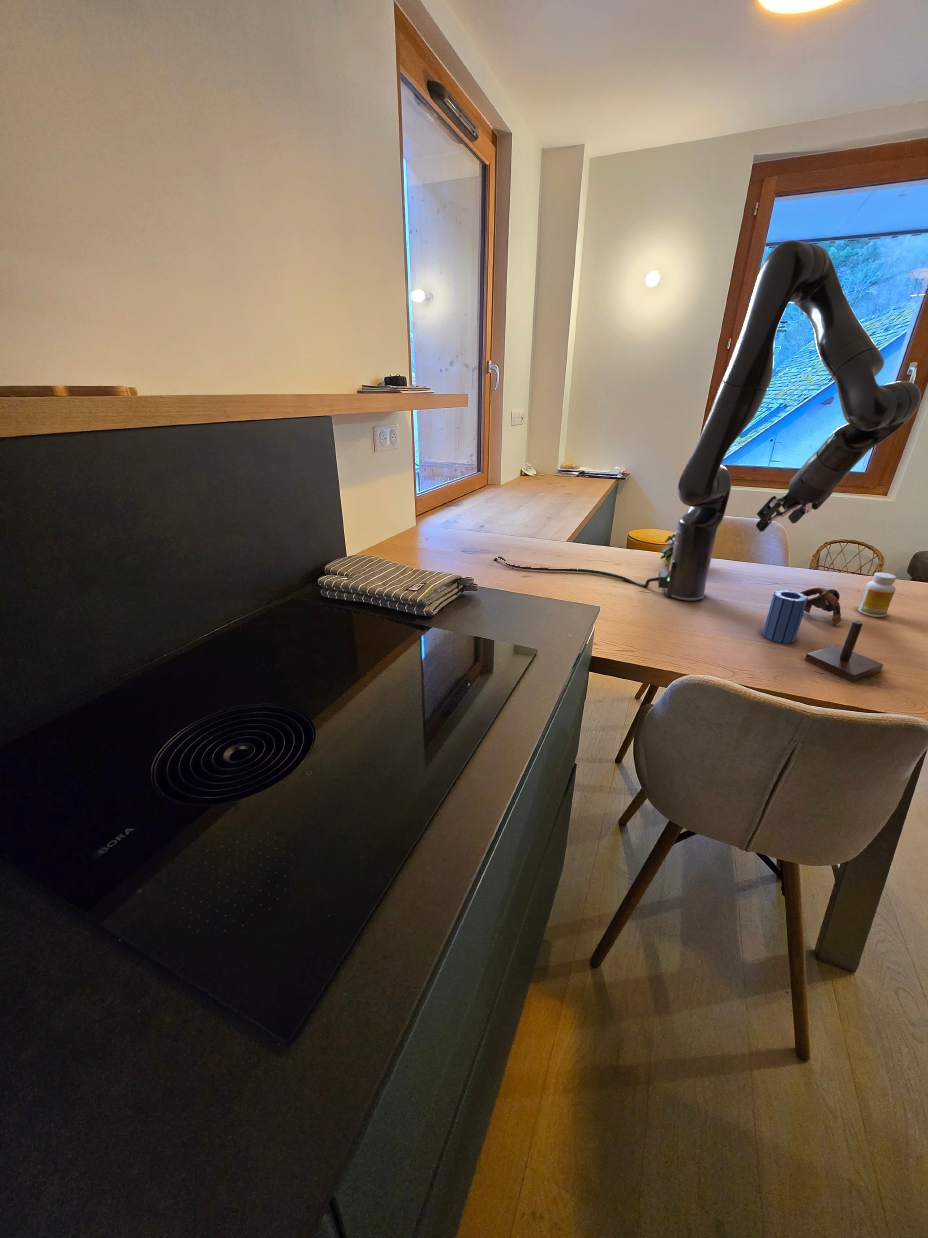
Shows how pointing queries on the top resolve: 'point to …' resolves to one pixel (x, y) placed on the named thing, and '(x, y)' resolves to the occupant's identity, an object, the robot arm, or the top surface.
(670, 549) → the passion flower
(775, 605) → the fluted pencil holder
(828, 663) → the stand
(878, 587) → the supplement bottle
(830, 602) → the brown curved piece
